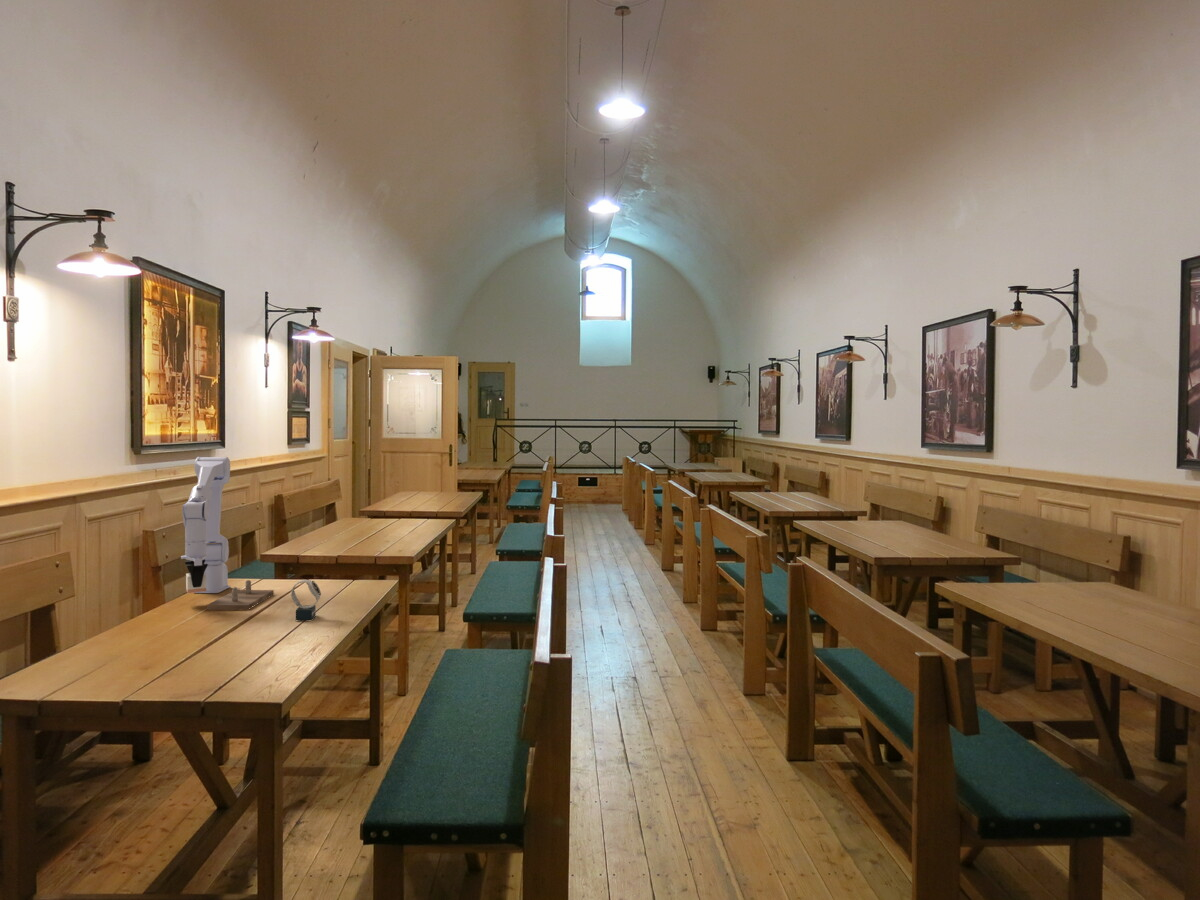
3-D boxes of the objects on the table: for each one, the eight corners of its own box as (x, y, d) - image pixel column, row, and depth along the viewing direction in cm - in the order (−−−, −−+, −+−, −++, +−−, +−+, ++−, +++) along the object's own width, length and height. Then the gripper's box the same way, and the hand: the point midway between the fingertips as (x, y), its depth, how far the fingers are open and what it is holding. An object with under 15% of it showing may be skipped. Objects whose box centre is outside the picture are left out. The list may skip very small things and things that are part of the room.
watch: (318, 620, 220) (318, 582, 220) (289, 621, 219) (289, 582, 218) (322, 615, 226) (322, 578, 225) (293, 616, 224) (293, 578, 224)
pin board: (235, 594, 250) (235, 576, 250) (273, 594, 250) (273, 576, 250) (207, 609, 230) (207, 590, 230) (248, 610, 230) (248, 590, 230)
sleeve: (186, 589, 236) (186, 573, 236) (204, 587, 239) (204, 571, 239) (187, 593, 232) (187, 576, 232) (206, 591, 235) (206, 574, 234)
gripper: (179, 538, 239) (179, 581, 239) (182, 545, 226) (183, 591, 227) (204, 536, 242) (204, 579, 243) (209, 543, 230) (209, 588, 231)
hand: (196, 585), depth 235 cm, fingers closed on sleeve, 5 cm apart
